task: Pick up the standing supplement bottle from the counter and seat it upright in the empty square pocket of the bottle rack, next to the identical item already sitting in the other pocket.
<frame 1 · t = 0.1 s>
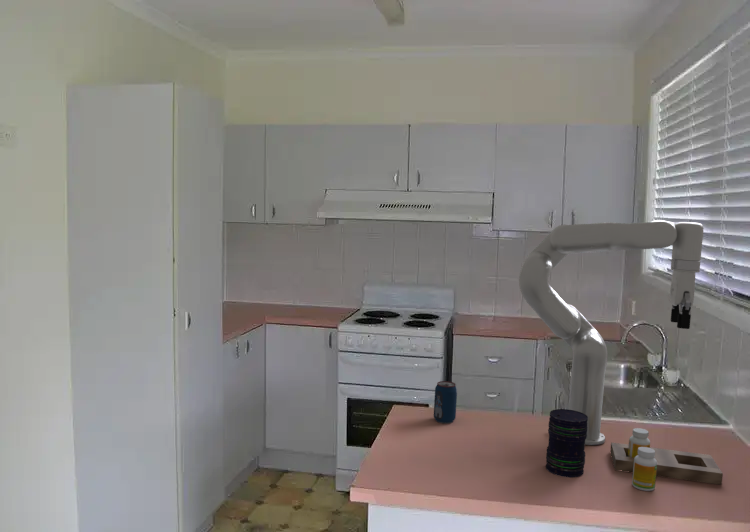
hand: (679, 325, 191), 37 cm above the worktop, tool pointing down, fingers open, 9 cm apart
soda can: (444, 421, 211), on the worktop
supplement bottle: (643, 487, 168), on the worktop
bottle rack: (663, 467, 181), on the worktop
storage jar: (564, 470, 176), on the worktop
supplement bottle 2: (637, 465, 182), resting in bottle rack
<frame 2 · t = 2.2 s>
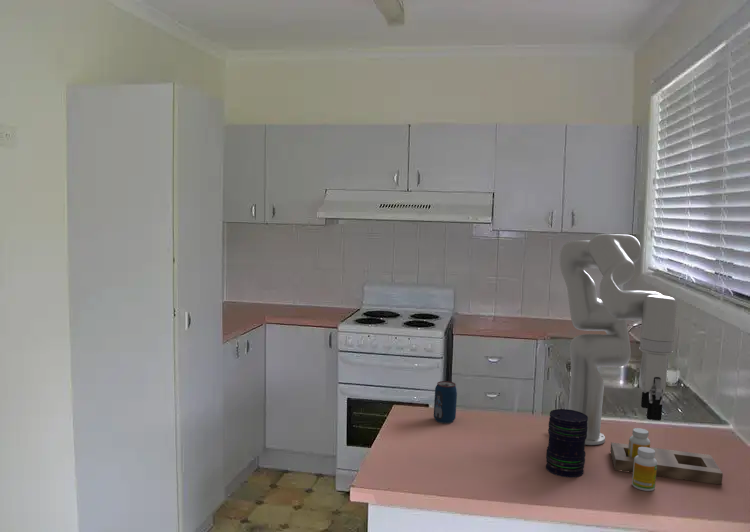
hand: (650, 413, 165), 19 cm above the worktop, tool pointing down, fingers open, 9 cm apart
nothing on the worktop moved.
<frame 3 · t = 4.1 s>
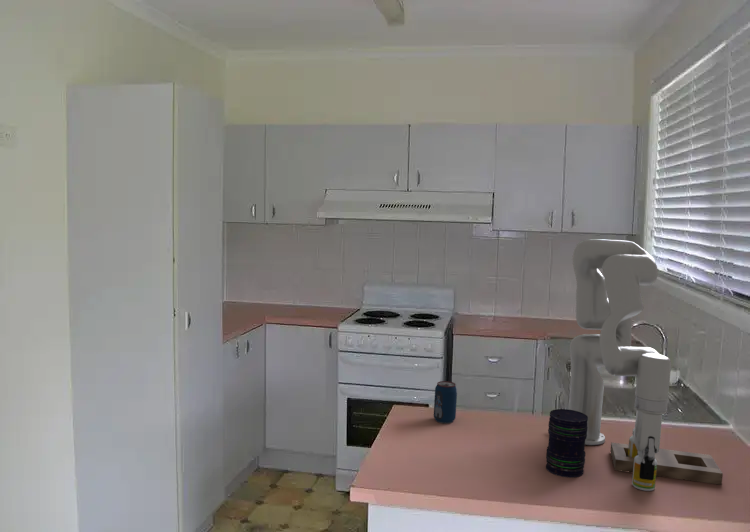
hand: (644, 473, 167), 4 cm above the worktop, tool pointing down, fingers closed on supplement bottle, 5 cm apart
supplement bottle: (643, 487, 168), on the worktop, touching gripper
everything else where it was.
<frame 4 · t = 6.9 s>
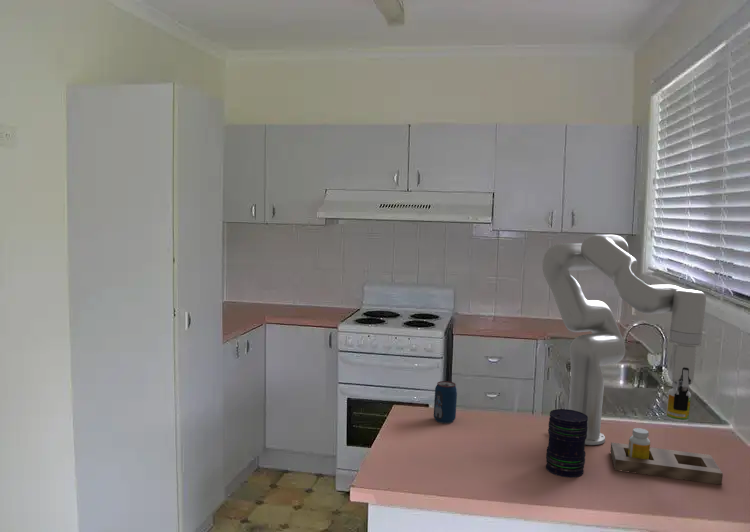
hand: (678, 405, 173), 19 cm above the worktop, tool pointing down, fingers closed on supplement bottle, 5 cm apart
supplement bottle: (676, 419, 173), point 15 cm above the worktop, touching gripper
everything else where it was.
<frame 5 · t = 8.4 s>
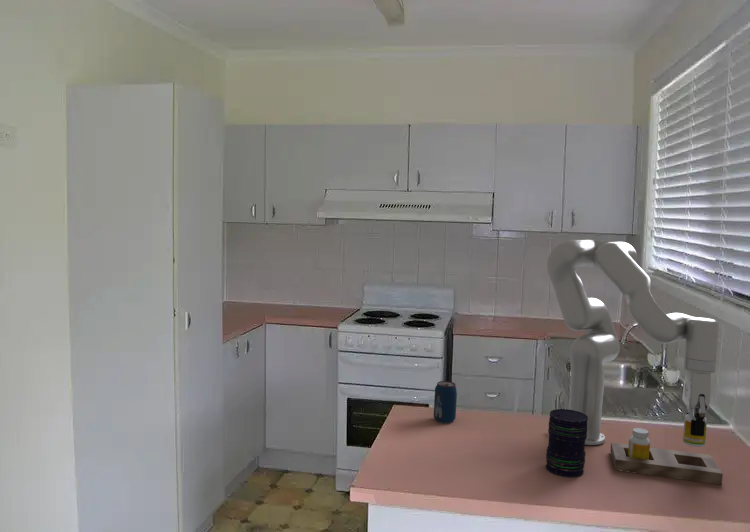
hand: (694, 430, 178), 11 cm above the worktop, tool pointing down, fingers closed on supplement bottle, 5 cm apart
supplement bottle: (693, 444, 178), point 8 cm above the worktop, touching gripper
everything else where it was.
when the fingers open (5 cm above the worktop, at t = 9.9 s): supplement bottle drops 1 cm, resting in bottle rack.
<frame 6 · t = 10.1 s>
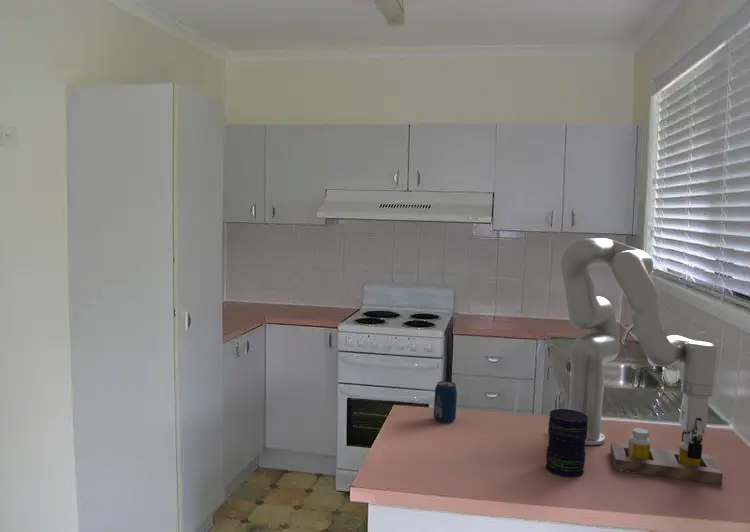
hand: (690, 452, 178), 5 cm above the worktop, tool pointing down, fingers open, 7 cm apart
supplement bottle: (688, 471, 179), resting in bottle rack
everything else where it was.
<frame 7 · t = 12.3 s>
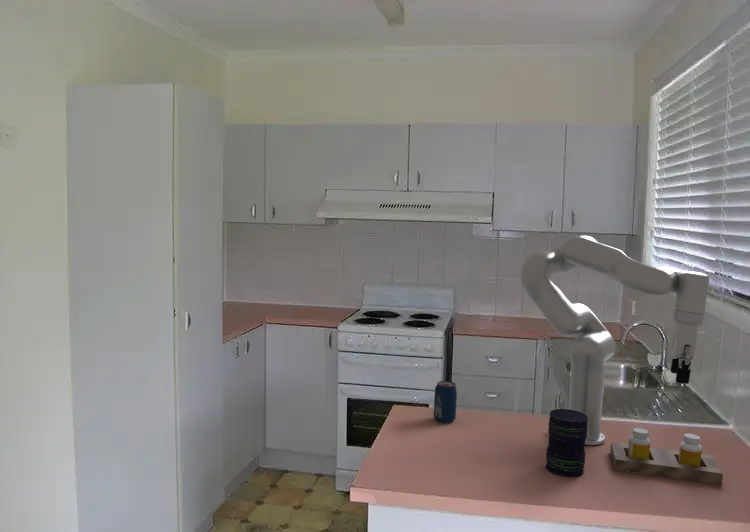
hand: (679, 377, 184), 24 cm above the worktop, tool pointing down, fingers open, 9 cm apart
nothing on the worktop moved.
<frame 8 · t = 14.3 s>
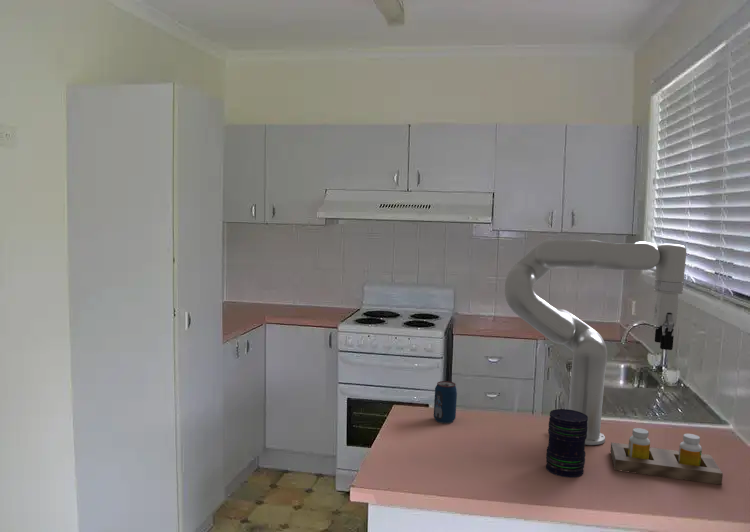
hand: (663, 345, 193), 30 cm above the worktop, tool pointing down, fingers open, 9 cm apart
nothing on the worktop moved.
at the end: supplement bottle 0.1 cm from the target spot on the bottle rack, point 0.0 cm above the bottle rack's base; supplement bottle tilted 0°; the gripper is holding nothing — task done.
